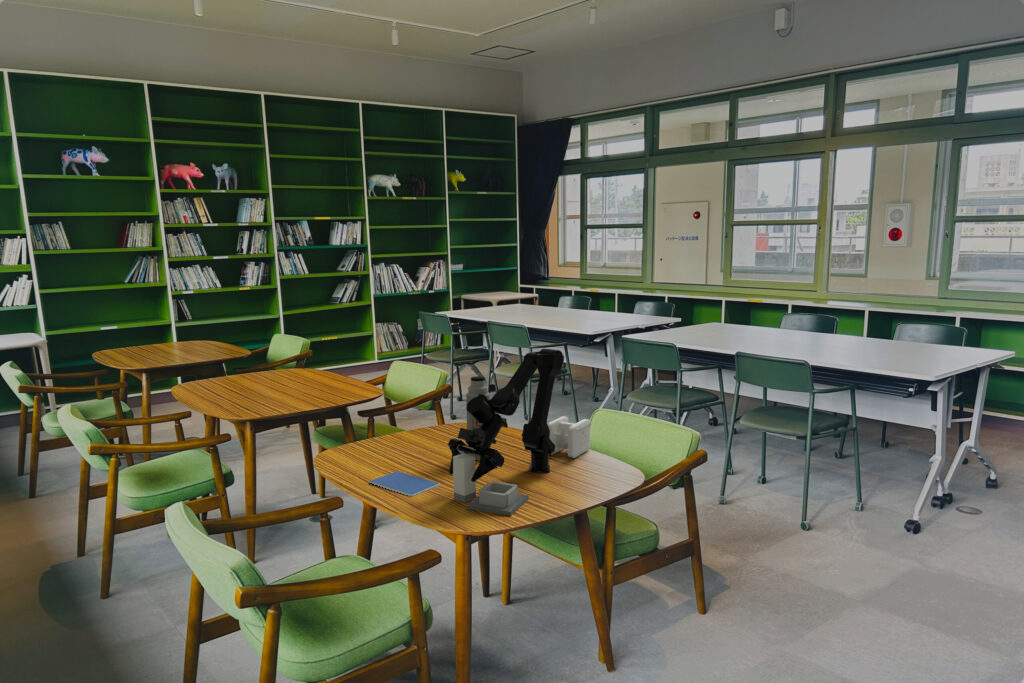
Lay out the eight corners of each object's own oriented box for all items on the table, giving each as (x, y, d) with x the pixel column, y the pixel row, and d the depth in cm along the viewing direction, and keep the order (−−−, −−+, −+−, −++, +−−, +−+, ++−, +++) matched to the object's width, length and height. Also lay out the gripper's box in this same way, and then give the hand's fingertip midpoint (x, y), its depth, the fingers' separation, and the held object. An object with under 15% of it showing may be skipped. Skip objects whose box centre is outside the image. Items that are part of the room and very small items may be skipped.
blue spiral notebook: (441, 486, 205) (441, 482, 205) (411, 499, 195) (411, 494, 195) (397, 474, 217) (397, 470, 216) (367, 485, 207) (367, 481, 206)
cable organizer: (565, 445, 244) (565, 414, 243) (592, 449, 239) (592, 417, 237) (545, 456, 232) (545, 423, 230) (573, 461, 226) (573, 427, 225)
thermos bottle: (488, 461, 227) (487, 379, 223) (465, 460, 228) (463, 379, 224) (492, 454, 235) (491, 375, 231) (469, 453, 236) (468, 374, 232)
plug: (465, 494, 197) (464, 453, 195) (476, 498, 194) (475, 456, 192) (453, 498, 194) (453, 456, 192) (464, 502, 191) (463, 459, 189)
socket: (487, 493, 198) (487, 477, 197) (528, 499, 192) (528, 483, 192) (467, 509, 186) (467, 492, 185) (510, 516, 181) (510, 499, 180)
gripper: (451, 411, 200) (423, 456, 193) (497, 422, 187) (469, 470, 181) (471, 431, 206) (444, 475, 200) (516, 443, 194) (489, 490, 187)
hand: (461, 477), depth 192 cm, fingers open, 9 cm apart
